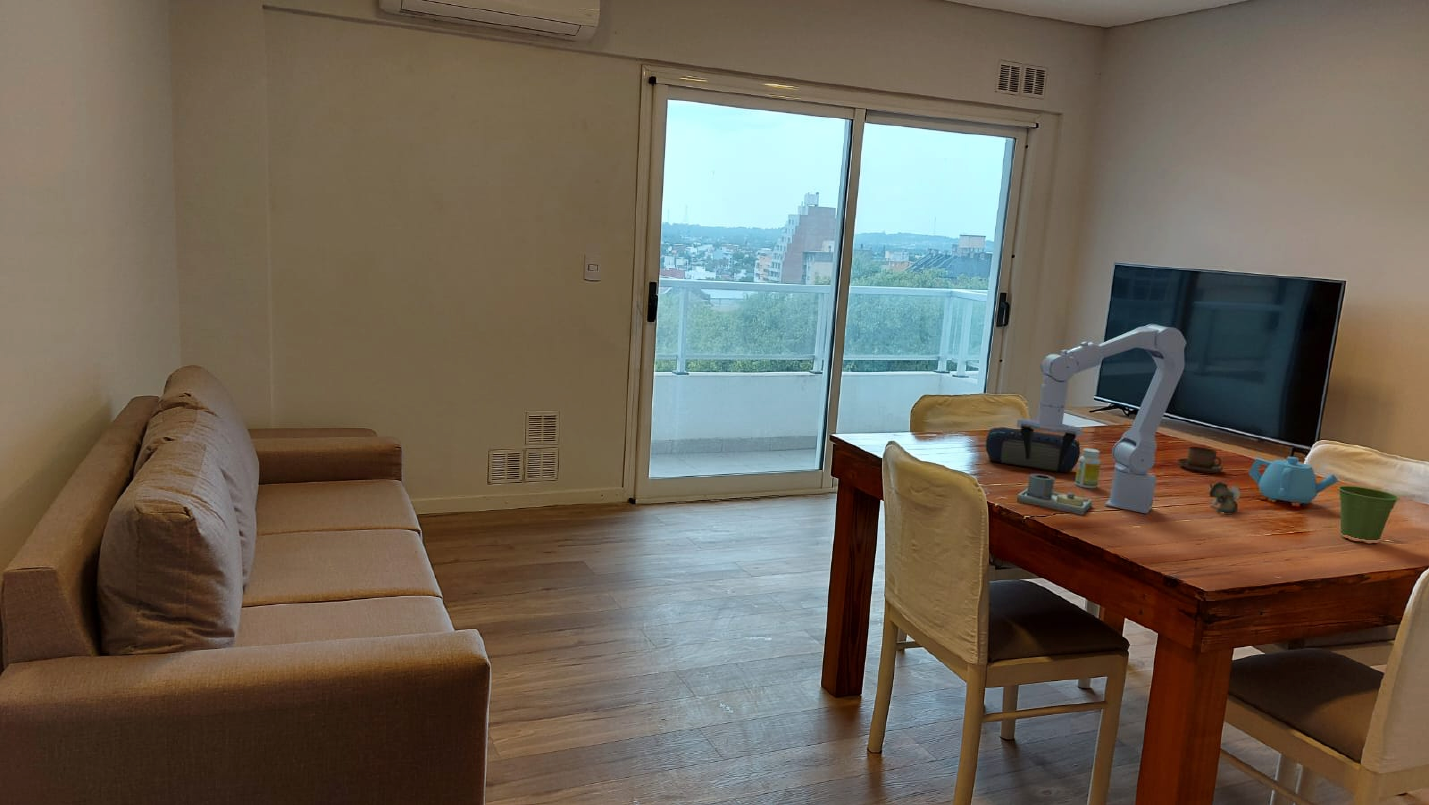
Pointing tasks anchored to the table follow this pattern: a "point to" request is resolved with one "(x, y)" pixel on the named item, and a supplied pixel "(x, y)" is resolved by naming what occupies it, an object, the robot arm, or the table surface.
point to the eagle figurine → (1224, 497)
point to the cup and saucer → (1201, 460)
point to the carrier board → (1059, 502)
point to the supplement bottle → (1088, 469)
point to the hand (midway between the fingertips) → (1044, 461)
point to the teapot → (1289, 480)
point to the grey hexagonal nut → (1041, 486)
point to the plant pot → (1364, 511)
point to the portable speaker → (1044, 450)
